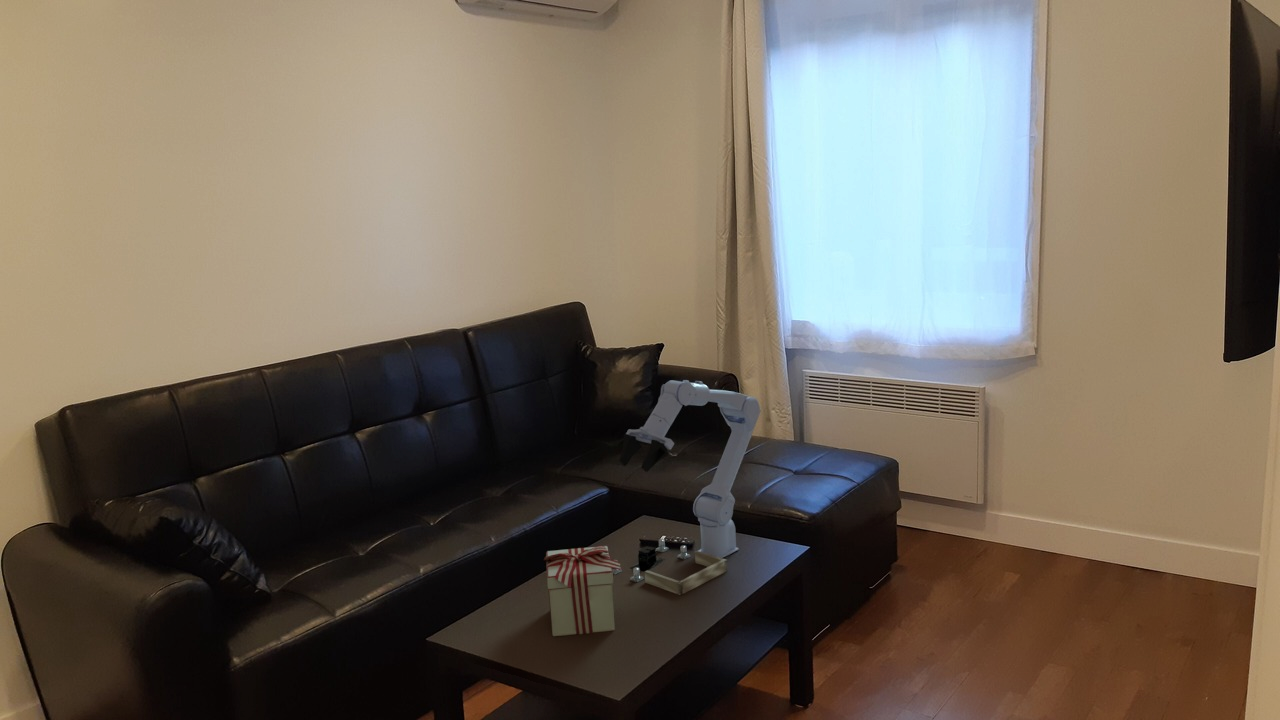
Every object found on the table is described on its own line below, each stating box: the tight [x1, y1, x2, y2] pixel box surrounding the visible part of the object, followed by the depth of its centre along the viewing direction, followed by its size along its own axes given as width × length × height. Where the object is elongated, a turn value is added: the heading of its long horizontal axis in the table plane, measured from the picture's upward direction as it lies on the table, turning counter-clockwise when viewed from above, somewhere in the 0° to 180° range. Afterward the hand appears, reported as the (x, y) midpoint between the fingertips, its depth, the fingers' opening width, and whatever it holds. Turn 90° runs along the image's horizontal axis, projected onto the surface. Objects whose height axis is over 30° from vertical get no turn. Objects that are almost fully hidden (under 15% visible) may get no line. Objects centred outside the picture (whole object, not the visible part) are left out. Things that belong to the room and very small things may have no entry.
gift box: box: [543, 545, 622, 637], centre depth 219 cm, size 17×18×17 cm
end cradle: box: [644, 550, 728, 596], centre depth 241 cm, size 18×12×3 cm, turn 135°
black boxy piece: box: [629, 545, 666, 573], centre depth 251 cm, size 12×7×5 cm, turn 144°
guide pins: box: [612, 538, 691, 583], centre depth 250 cm, size 20×10×3 cm, turn 135°
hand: (632, 466), depth 231 cm, fingers open, 7 cm apart
